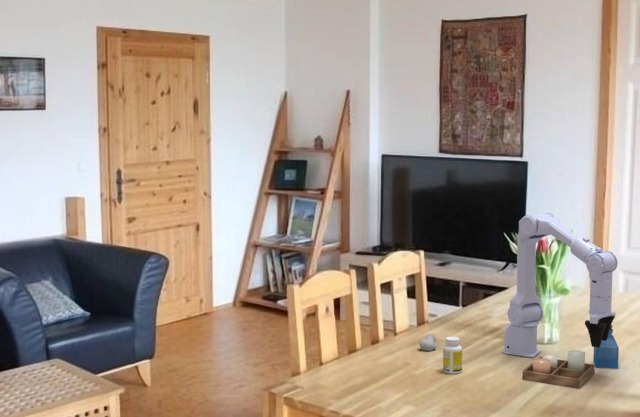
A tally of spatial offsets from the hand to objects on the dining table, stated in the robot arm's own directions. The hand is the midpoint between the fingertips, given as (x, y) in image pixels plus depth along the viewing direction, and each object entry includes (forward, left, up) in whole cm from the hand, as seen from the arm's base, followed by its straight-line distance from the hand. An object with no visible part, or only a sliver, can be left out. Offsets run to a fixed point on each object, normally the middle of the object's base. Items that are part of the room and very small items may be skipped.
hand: (599, 343), depth 239 cm
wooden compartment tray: (-10, -4, -10) cm, 15 cm away
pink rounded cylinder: (-14, -8, -10) cm, 19 cm away
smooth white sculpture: (-53, +3, -10) cm, 54 cm away
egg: (-14, 0, -10) cm, 17 cm away
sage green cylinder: (-6, 0, -10) cm, 12 cm away
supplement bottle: (-38, -15, -10) cm, 42 cm away
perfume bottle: (-1, +13, -10) cm, 17 cm away
